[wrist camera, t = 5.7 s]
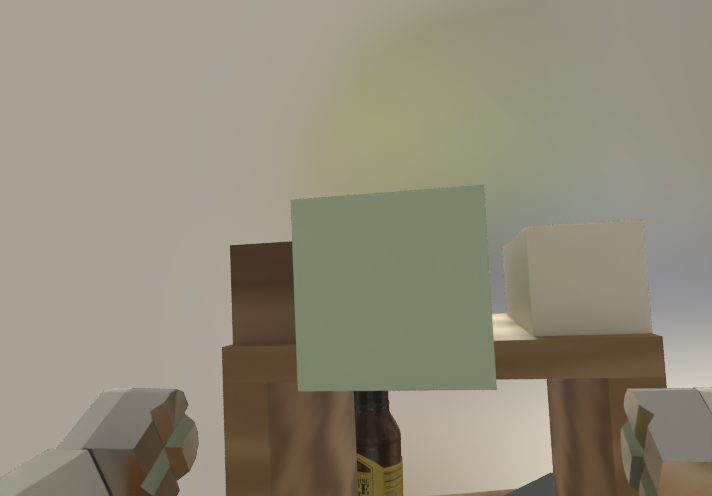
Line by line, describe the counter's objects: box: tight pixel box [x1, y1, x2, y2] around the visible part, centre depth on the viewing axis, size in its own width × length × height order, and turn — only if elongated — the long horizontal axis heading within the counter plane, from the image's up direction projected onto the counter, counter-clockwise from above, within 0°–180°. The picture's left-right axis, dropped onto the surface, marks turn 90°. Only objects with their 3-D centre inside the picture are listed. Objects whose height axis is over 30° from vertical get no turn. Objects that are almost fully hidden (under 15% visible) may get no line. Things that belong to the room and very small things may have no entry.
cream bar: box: [503, 220, 652, 336], centre depth 24 cm, size 12×4×4 cm, turn 169°
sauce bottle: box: [354, 391, 403, 496], centre depth 56 cm, size 6×6×20 cm
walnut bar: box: [230, 242, 296, 344], centre depth 26 cm, size 12×4×4 cm, turn 169°
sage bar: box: [291, 185, 497, 391], centre depth 21 cm, size 22×4×4 cm, turn 169°
